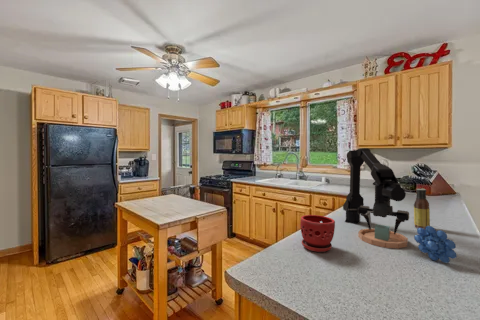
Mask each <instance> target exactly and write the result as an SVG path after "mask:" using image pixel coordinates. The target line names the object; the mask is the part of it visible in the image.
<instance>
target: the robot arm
mask: <svg viewBox="0 0 480 320" xmlns="http://www.w3.org/2000/svg"><path fill="white" fill-rule="evenodd" d="M346 162H347V163H348V165H349V167H350V168H349V169H350V170H349V173H350V174H349V177H350V178H349V193H348V194H347V195H346V197H345V198H346V199H345V201H344V203H343V205H342V209H343V211H345V220H344V222H346V223H353V224H356V225H357V224H359V223H361V216H362V217H363V218H364V219H365V221H366V224H367V227H368V229H369V230H371V229H372V218H371V214H372V215H373V216H374V217H381V218H387V217H388V216H391V217H396V219H395V224H394V228H393V232H394V234H396V233H397V232H398V228H399V226H400V225H401V223H405V222H406V221H409V219H410V212H409V211H408V210H400V209H398V210H397V211H394V209H393V208H394V207H393V205H391V200H392V201H394V202H402V201H403V200H404V199H405V198H406V194H407V193H406V191H405V189H404V188H403V187H401V186H402V185H401V184H400V183H399V179H398V178H397V177H396V174H395V172H394V170H393V169H392V168H391V167H389V166H388V165H385V164H383V163H382V162H380V160H378V159H377V157H376V156H375V155H374V154H373V153H372V152H371V149H370V148H367V147H366V148H365V147H364V148H363V147H362V148H358V149H354V150H349V151H348V152H347V153H346ZM364 163H365V164H366V165H367V167H368V168H369V170H370V175H371V177H372V179H373V181H374V182H373V183H372V185H373V186H374V203H373V207H372V208H370V206H369V205H364V204H365V203H364V197H362V195H361V189H360V188H361V167H362V166H363V164H364Z"/></svg>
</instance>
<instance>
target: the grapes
mask: <svg viewBox="0 0 480 320" xmlns="http://www.w3.org/2000/svg"><path fill="white" fill-rule="evenodd" d="M416 233H417V234H415V235H414V241H415V242H416V243H418V246H417V247H418V250H419V251H420V252H422V253H424V254H427V257H428V258H429V259H430V260H432V261H441V263H444V264H447V263H450V259H456V258H457V257H458V256H457V252H456V250H455V249H456V248H457V247H456V245H457V244H456V243H455V242H454V241H453V240H451V239H449V238H448V234H447V233H446V232H445V231H444V230H441V229H439V230H436V229H435V228H434V227H433V226H431V225H430V226H426V227H425V229H423V228H416Z"/></svg>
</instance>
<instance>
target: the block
mask: <svg viewBox="0 0 480 320" xmlns="http://www.w3.org/2000/svg"><path fill="white" fill-rule="evenodd" d="M374 229H375V238H376V239H381V240H386V241H388V240H389V238H390V231H391V228H390V226H389V225H383V224H376V225H374Z"/></svg>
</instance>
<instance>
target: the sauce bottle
mask: <svg viewBox="0 0 480 320" xmlns="http://www.w3.org/2000/svg"><path fill="white" fill-rule="evenodd" d="M415 191H416V198H415V201H414V204H413V224H414V227H415V228H416V229H418V228H423V229H425V227H426V226H431V219H430V217H431V216H430V214H431V211H430V202H429V201H428V199H427V189H425V188H416V189H415Z"/></svg>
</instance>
